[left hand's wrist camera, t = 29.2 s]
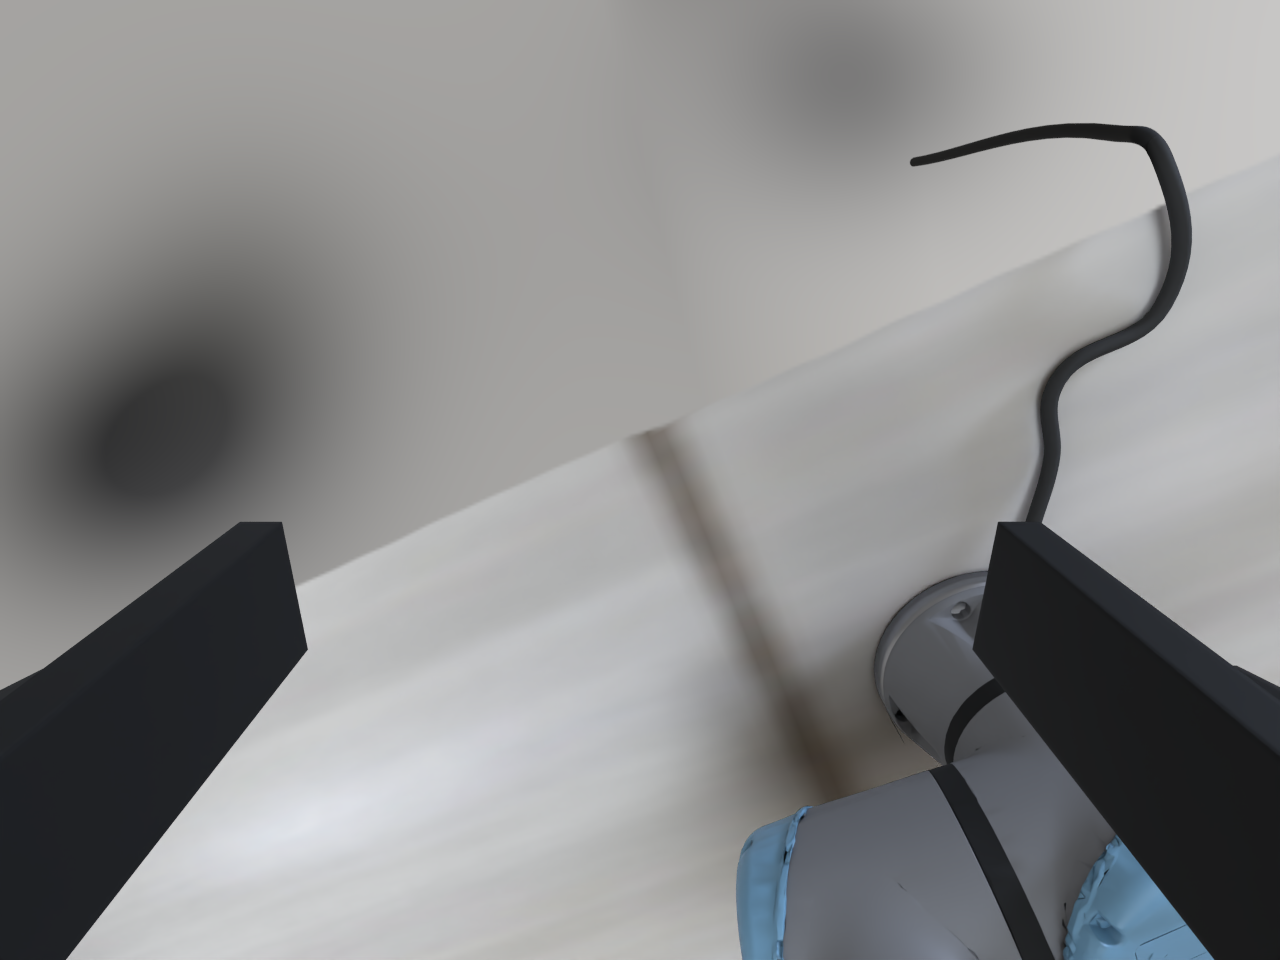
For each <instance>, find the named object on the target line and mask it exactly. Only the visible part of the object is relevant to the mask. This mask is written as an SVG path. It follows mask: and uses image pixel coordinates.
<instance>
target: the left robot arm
mask: <svg viewBox="0 0 1280 960" xmlns="http://www.w3.org/2000/svg"><path fill="white" fill-rule="evenodd" d="M1053 138H1087V139H1096V140H1104V141H1112V142H1127V143H1134V144H1137V145H1139V146H1141V147H1143V148H1144V149H1145V150H1146V152H1147V154H1148V155H1149V157H1150V159H1151V162H1152V164H1153V167H1154V169H1155V172H1156V174H1157V177H1158V180H1159V183H1160V186H1161V189H1162V192H1163V195H1164V198H1165V202H1166V206H1167V210H1168V215H1169V220H1170V227H1171V258H1170V263H1169V268H1168V272H1167V275H1166V279H1165V282H1164V284H1163V287H1162V289H1161V291H1160V293H1159V295H1158V297H1157V299H1156V301H1155V303H1154V305H1153V306H1152V308H1151V309H1150V311H1149V312H1148V313H1147V314H1146V315H1145V316H1144V317H1143V318H1142V319H1141V320H1139V321H1138V322H1137V323H1135V324H1134V325H1132V326H1130V327H1128V328H1127V329H1125V330H1122V331H1120V332H1118V333H1116V334H1113V335H1111V336H1109V337H1106V338H1104V339H1101V340H1099V341H1097V342H1094V343H1092V344H1090V345H1088V346H1086V347H1084V348H1082V349H1080V350H1079V351H1077V352H1075V353H1074V354H1072V355H1071V356H1070V357H1068V358H1067V359H1066V360H1065V361H1064V362H1063V363H1062V364H1061V365H1060V366H1059V367H1058V368H1057V369H1056V370H1055V372H1054V373H1053V375H1052V376H1051V377H1050V379H1049V381H1048V383H1047V385H1046V387H1045V390H1044V393H1043V396H1042V401H1041V424H1042V431H1043V439H1044V458H1043V464H1042V469H1041V474H1040V478H1039V481H1038V485H1037V488H1036V491H1035V494H1034V497H1033V500H1032V503H1031V506H1030V509H1029V512H1028V515H1027V519H1026V522H998V525H997V530H996V535H995V540H994V545H993V550H992V555H991V560H990V564H989V569H988V571H983V572H975V573H969V574H964V575H960V576H957V577H954V578H950V579H948V580H945V581H943V582H940V583H938V584H936V585H934V586H932V587H930V588H929V589H927V590H925V591H924V592H922V593H921V594H919V595H918V596H916V597H915V598H914V599H912V600H911V601H910V602H909V603H908V604H906V605H905V606H904V607H903V608H902V609H901V610H900V611H899V613H898V614H897V615H896V616H895V617H894V618H893V620H892V621H891V623H890V624H889V625H888V627H887V629H886V630H885V632H884V634H883V636H882V638H881V641H880V643H879V646H878V649H877V653H876V658H875V667H874V671H875V681H876V686H877V689H878V692H879V695H880V697H881V699H882V701H883V703H884V705H885V707H886V709H887V711H888V712H887V713H889V714H888V715H890V716H891V718H892V720H893V721H894V723H895V724H896V725H897V727H898V728H899V729H900V730H901V731H902V732H903V733H904V734H906V735H907V736H908V737H909V738H911V739H912V740H913V741H914V742H915V743H917V744H918V745H919V746H920V747H921V748H922V749H924V750H925V751H926V752H927V753H928V754H930V755H931V756H932V757H933V758H934V759H936V760H937V761H938V762H939V763H940V764H941V765H943V766H941V767H938V768H935V769H932V770H927V771H924V772H921V773H918V774H915V775H912V776H909V777H906V778H903V779H900V780H897V781H894V782H891V783H888V784H885V785H882V786H879V787H876V788H873V789H870V790H866V791H863V792H860V793H857V794H853V795H850V796H847V797H844V798H840V799H837V800H834V801H831V802H827V803H824V804H821V805H818V806H814V807H813V806H805V807H802V808H801V809H800V810H798V811H797V812H796V814H793V815H791V816H789V817H786V818H784V819H781V820H779V821H776V822H773V823H771V824H768V825H765V826H763V827H761V828H759V829H757V830H756V831H754V832H753V833H752V834H751V835H750V836H749V837H748V839H747V840H746V842H745V844H744V846H743V848H742V850H741V855H740V860H739V863H738V868H737V880H736V903H737V920H738V930H739V939H740V946H741V953H742V959H743V960H1280V687H1278V686H1276V685H1274V684H1272V683H1270V682H1268V681H1266V680H1264V679H1262V678H1260V677H1258V676H1256V675H1254V674H1252V673H1250V672H1248V671H1246V670H1244V669H1242V668H1240V667H1238V666H1232V665H1231V664H1230V663H1228V662H1227V661H1226V660H1224V659H1223V658H1222V657H1220V656H1219V655H1218V654H1216V653H1215V652H1214V651H1212V650H1211V649H1210V648H1208V647H1207V646H1206V645H1204V644H1203V643H1202V642H1200V641H1199V640H1198V639H1196V638H1195V637H1194V636H1192V635H1191V634H1189V633H1188V632H1187V631H1185V630H1184V629H1183V628H1181V627H1180V626H1179V625H1177V624H1176V623H1175V622H1173V621H1172V620H1171V619H1169V618H1168V617H1167V616H1165V615H1164V614H1163V613H1161V612H1160V611H1159V610H1157V609H1156V608H1155V607H1153V606H1152V605H1151V604H1149V603H1148V602H1147V601H1145V600H1144V599H1143V598H1141V597H1140V596H1139V595H1137V594H1136V593H1135V592H1133V591H1132V590H1131V589H1129V588H1128V587H1126V586H1125V585H1124V584H1122V583H1121V582H1120V581H1118V580H1117V579H1116V578H1114V577H1113V576H1112V575H1110V574H1109V573H1108V572H1106V571H1105V570H1104V569H1102V568H1101V567H1100V566H1098V565H1097V564H1096V563H1094V562H1093V561H1092V560H1090V559H1089V558H1088V557H1086V556H1085V555H1084V554H1082V553H1081V552H1080V551H1078V550H1077V549H1076V548H1074V547H1073V546H1072V545H1070V544H1069V543H1068V542H1066V541H1065V540H1063V539H1062V538H1061V537H1059V536H1058V535H1057V534H1055V533H1054V532H1053V531H1051V530H1050V529H1049V528H1047V527H1046V526H1045V525H1043V524H1042V520H1043V517H1044V514H1045V511H1046V508H1047V505H1048V502H1049V499H1050V496H1051V493H1052V490H1053V487H1054V483H1055V480H1056V476H1057V471H1058V467H1059V462H1060V454H1061V441H1060V431H1059V423H1058V400H1059V396H1060V393H1061V391H1062V389H1063V387H1064V385H1065V383H1066V382H1067V380H1068V379H1069V378H1070V376H1071V375H1072V374H1073V373H1074V372H1075V371H1076V370H1078V369H1079V368H1080V367H1082V366H1083V365H1085V364H1086V363H1088V362H1090V361H1092V360H1094V359H1096V358H1098V357H1100V356H1103V355H1105V354H1107V353H1110V352H1112V351H1115V350H1117V349H1119V348H1122V347H1124V346H1126V345H1129V344H1131V343H1133V342H1135V341H1137V340H1138V339H1140V338H1142V337H1144V336H1145V335H1146V334H1148V333H1149V332H1150V331H1152V330H1153V329H1154V328H1155V327H1156V326H1157V325H1158V324H1159V323H1160V322H1161V321H1162V320H1163V319H1164V318H1165V316H1166V315H1167V313H1168V312H1169V310H1170V309H1171V307H1172V306H1173V304H1174V302H1175V300H1176V298H1177V296H1178V294H1179V291H1180V289H1181V287H1182V284H1183V282H1184V279H1185V275H1186V272H1187V269H1188V265H1189V260H1190V255H1191V245H1192V226H1191V216H1190V210H1189V204H1188V200H1187V196H1186V192H1185V188H1184V185H1183V182H1182V179H1181V176H1180V173H1179V170H1178V167H1177V165H1176V162H1175V160H1174V157H1173V155H1172V152H1171V150H1170V148H1169V146H1168V145H1167V143H1166V141H1165V140H1164V139H1163V138H1162V137H1161V136H1160V134H1159V133H1157V132H1156V131H1155V130H1153V129H1151V128H1149V127H1145V126H1123V125H1111V124H1100V123H1065V124H1054V125H1045V126H1038V127H1032V128H1026V129H1022V130H1017V131H1012V132H1008V133H1004V134H1000V135H997V136H993V137H989V138H986V139H982V140H978V141H975V142H972V143H968V144H965V145H962V146H958V147H955V148H951V149H948V150H944V151H940V152H936V153H932V154H928V155H924V156H919V157H914V158H912V159H911V160H910V165H911V166H913V167H914V166H921V165H927V164H932V163H937V162H941V161H946V160H950V159H954V158H958V157H962V156H966V155H969V154H973V153H977V152H981V151H985V150H989V149H993V148H997V147H1002V146H1006V145H1011V144H1016V143H1022V142H1027V141H1034V140H1042V139H1053ZM307 650H308V648H307V643H306V638H305V633H304V628H303V623H302V619H301V614H300V609H299V604H298V599H297V594H296V589H295V584H294V579H293V574H292V569H291V564H290V560H289V555H288V550H287V545H286V540H285V535H284V530H283V525H282V522H239V523H238V524H237V525H235V526H234V527H233V528H231V529H230V530H229V531H227V532H226V533H225V534H223V535H222V536H221V537H219V538H218V539H217V540H215V541H214V542H213V543H211V544H210V545H208V546H207V547H206V548H205V549H203V550H202V551H200V552H199V553H198V554H196V555H195V556H194V557H192V558H191V559H190V560H188V561H187V562H186V563H184V564H183V565H182V566H180V567H179V568H178V569H176V570H175V571H174V572H172V573H171V574H170V575H168V576H167V577H166V578H164V579H163V580H162V581H160V582H159V583H158V584H156V585H155V586H154V587H152V588H151V589H150V590H148V591H147V592H145V593H144V594H143V595H141V596H140V597H139V598H137V599H136V600H135V601H133V602H132V603H131V604H129V605H128V606H127V607H125V608H124V609H123V610H121V611H120V612H119V613H117V614H116V615H115V616H113V617H112V618H111V619H109V620H108V621H107V622H105V623H104V624H103V625H101V626H100V627H99V628H97V629H96V630H95V631H93V632H92V633H91V634H89V635H88V636H87V637H85V638H84V639H82V640H81V641H80V642H78V643H77V644H76V645H74V646H73V647H72V648H70V649H69V650H68V651H66V652H65V653H64V654H62V655H61V656H60V657H58V658H57V659H56V660H54V661H53V662H52V663H50V664H49V665H48V666H46V667H45V668H44V669H42V670H40V671H38V672H36V673H34V674H32V675H30V676H28V677H26V678H24V679H22V680H20V681H18V682H16V683H14V684H12V685H10V686H8V687H6V688H4V689H2V690H0V960H66V959H67V958H68V956H69V955H70V954H71V952H72V951H73V950H74V949H75V947H76V946H77V945H78V943H79V942H80V941H81V940H82V938H83V937H84V936H85V934H86V933H87V932H88V931H89V929H90V928H91V927H92V926H93V924H94V923H95V922H96V920H97V919H98V918H99V917H100V915H101V914H102V913H103V911H104V910H105V909H106V908H107V906H108V905H109V904H110V902H111V901H112V900H113V899H114V897H115V896H116V895H117V893H118V892H119V891H120V890H121V888H122V887H123V886H124V884H125V883H126V882H127V881H128V879H129V878H130V877H131V876H132V874H133V873H134V872H135V870H136V869H137V868H138V867H139V865H140V864H141V863H142V861H143V860H144V859H145V858H146V856H147V855H148V854H149V852H150V851H151V850H152V849H153V847H154V846H155V845H156V843H157V842H158V841H159V840H160V838H161V837H162V836H163V834H164V833H165V832H166V831H167V829H168V828H169V827H170V826H171V824H172V823H173V822H174V820H175V819H176V818H177V817H178V815H179V814H180V813H181V811H182V810H183V809H184V808H185V806H186V805H187V804H188V802H189V801H190V800H191V799H192V797H193V796H194V795H195V793H196V792H197V791H198V790H199V788H200V787H201V786H202V784H203V783H204V782H205V781H206V779H207V778H208V777H209V776H210V774H211V773H212V772H213V770H214V769H215V768H216V767H217V765H218V764H219V763H220V761H221V760H222V759H223V758H224V756H225V755H226V754H227V752H228V751H229V750H230V749H231V747H232V746H233V745H234V743H235V742H236V741H237V740H238V738H239V737H240V736H241V734H242V733H243V732H244V731H245V729H246V728H247V727H248V725H249V724H250V723H251V722H252V720H253V719H254V718H255V717H256V715H257V714H258V713H259V711H260V710H261V709H262V708H263V706H264V705H265V704H266V702H267V701H268V700H269V699H270V697H271V696H272V695H273V693H274V692H275V691H276V690H277V688H278V687H279V686H280V684H281V683H282V682H283V681H284V679H285V678H286V677H287V675H288V674H289V673H290V672H291V670H292V669H293V668H294V667H295V665H296V664H297V663H298V661H299V660H300V659H301V658H302V656H303V655H304V654H305V652H306V651H307ZM890 716H889V717H890ZM891 718H890V719H891ZM892 720H891V721H892ZM893 721H892V723H893ZM894 723H893V724H894ZM894 726H895V725H894ZM895 728H896V727H895ZM896 730H897V729H896ZM897 732H898V730H897ZM898 733H899V732H898ZM899 735H900V734H899ZM900 737H901V736H900ZM901 739H902V738H901ZM902 741H903V740H902Z"/></svg>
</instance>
